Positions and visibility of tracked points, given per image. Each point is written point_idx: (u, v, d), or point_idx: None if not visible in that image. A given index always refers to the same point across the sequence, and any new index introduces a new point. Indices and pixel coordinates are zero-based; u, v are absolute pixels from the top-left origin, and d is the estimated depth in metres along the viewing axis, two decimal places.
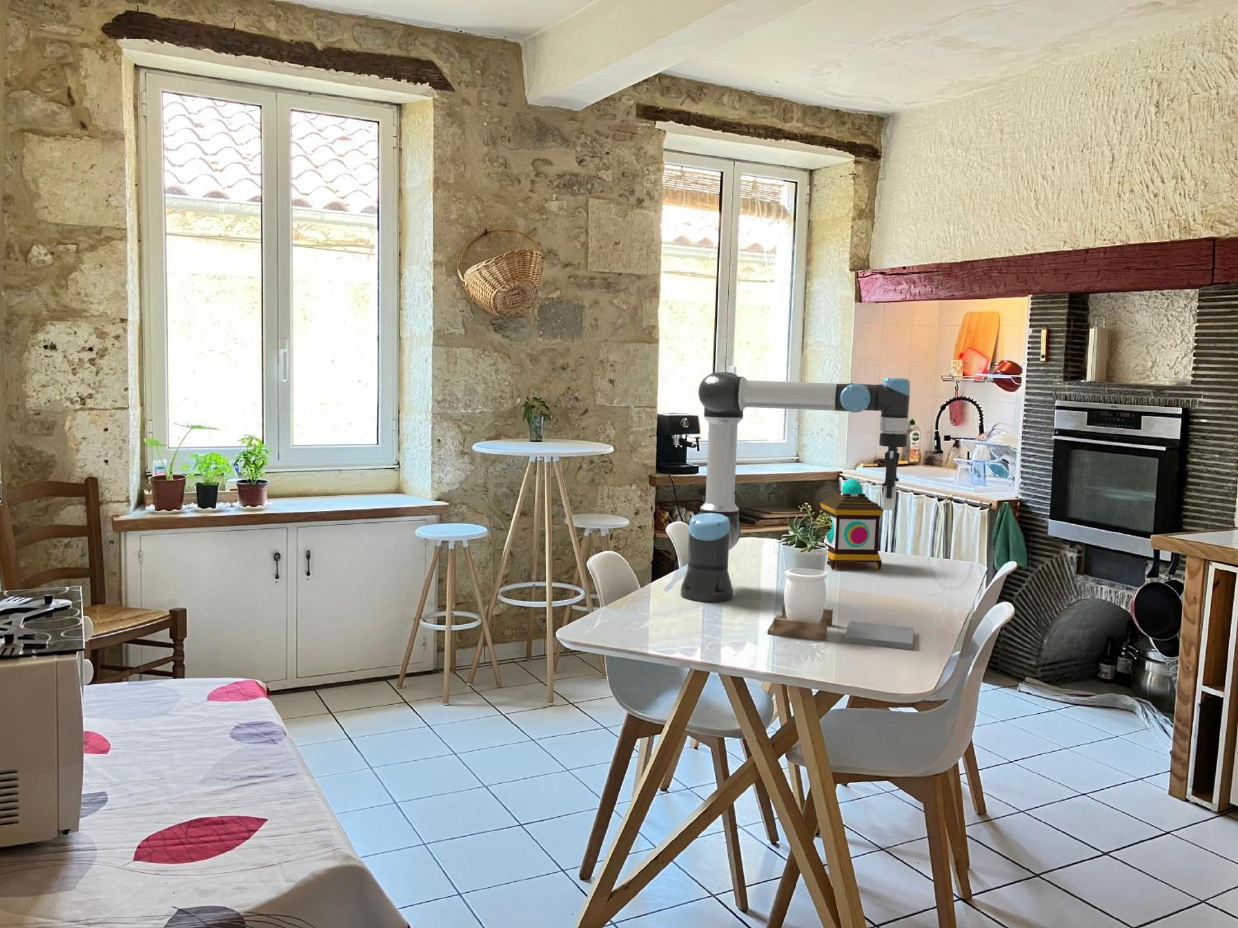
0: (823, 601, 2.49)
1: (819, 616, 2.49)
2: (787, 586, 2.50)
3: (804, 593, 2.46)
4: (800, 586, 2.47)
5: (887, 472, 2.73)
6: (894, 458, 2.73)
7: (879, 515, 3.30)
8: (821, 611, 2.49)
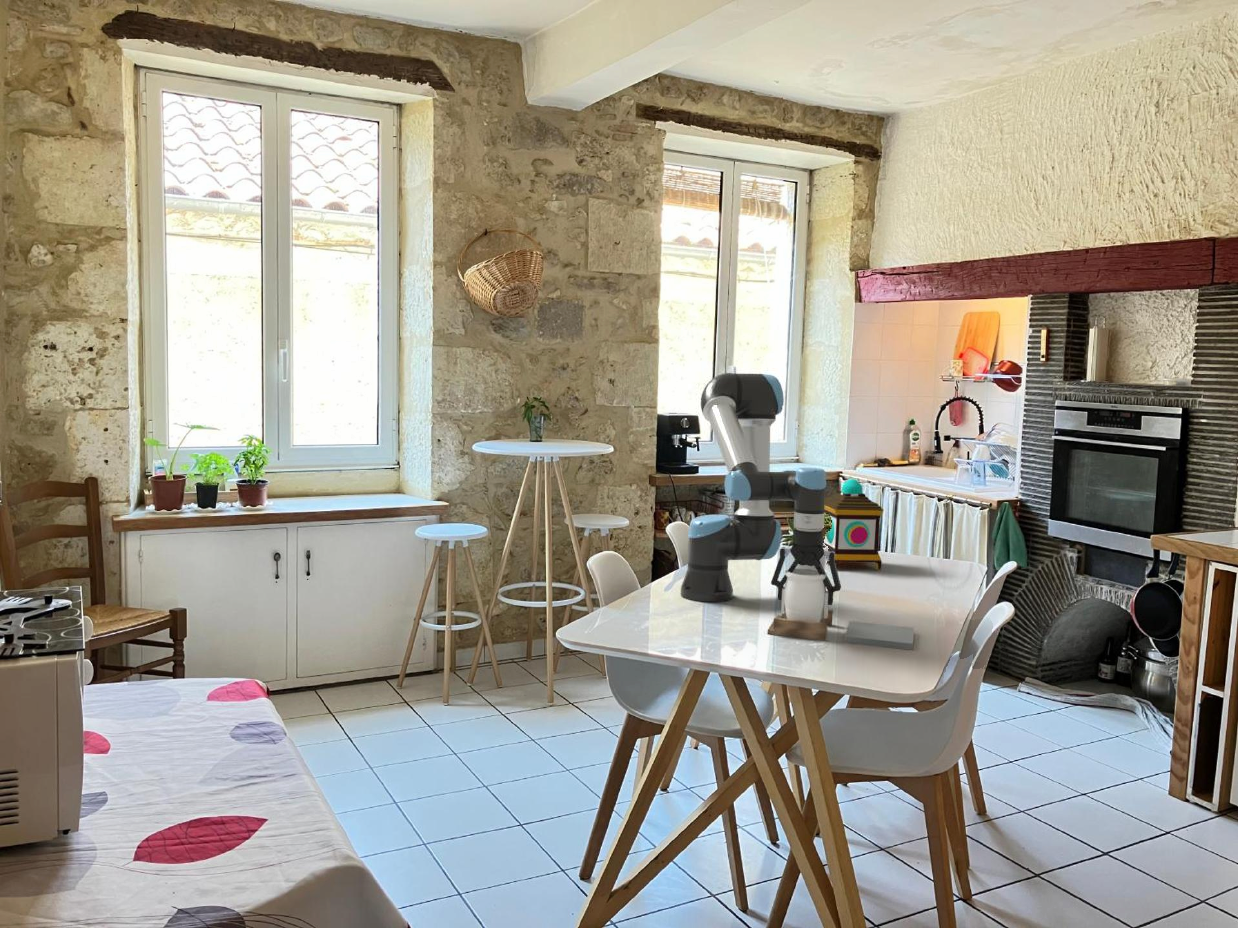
0: (823, 601, 2.49)
1: (819, 616, 2.49)
2: (787, 586, 2.50)
3: (804, 593, 2.46)
4: (800, 586, 2.47)
5: None
6: None
7: (879, 515, 3.30)
8: (821, 611, 2.49)
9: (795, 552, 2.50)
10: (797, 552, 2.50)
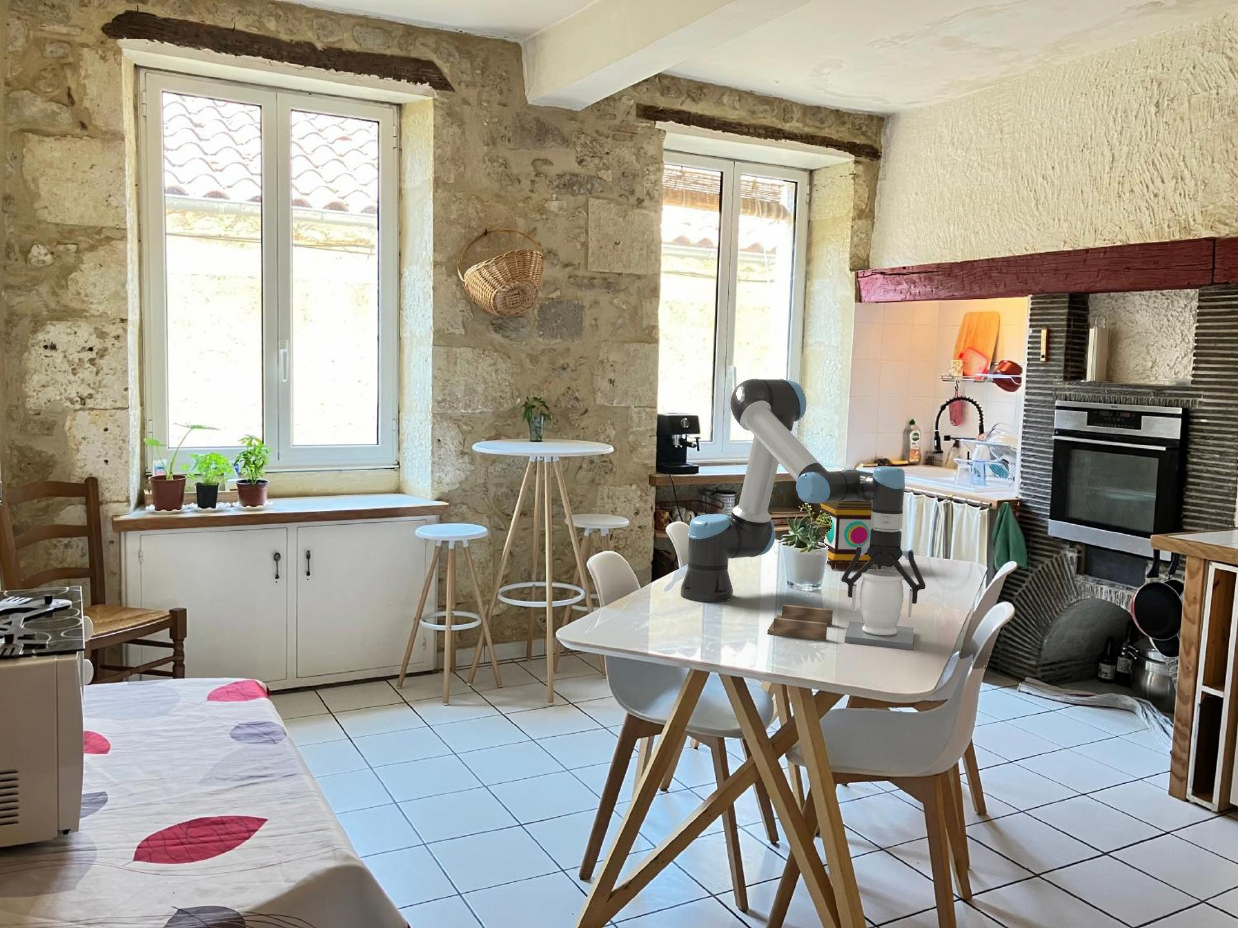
0: (901, 603, 2.43)
1: (897, 618, 2.43)
2: (864, 587, 2.44)
3: (883, 594, 2.41)
4: (878, 587, 2.41)
5: None
6: (855, 554, 2.46)
7: None
8: (899, 613, 2.43)
9: (872, 553, 2.45)
10: (874, 553, 2.44)
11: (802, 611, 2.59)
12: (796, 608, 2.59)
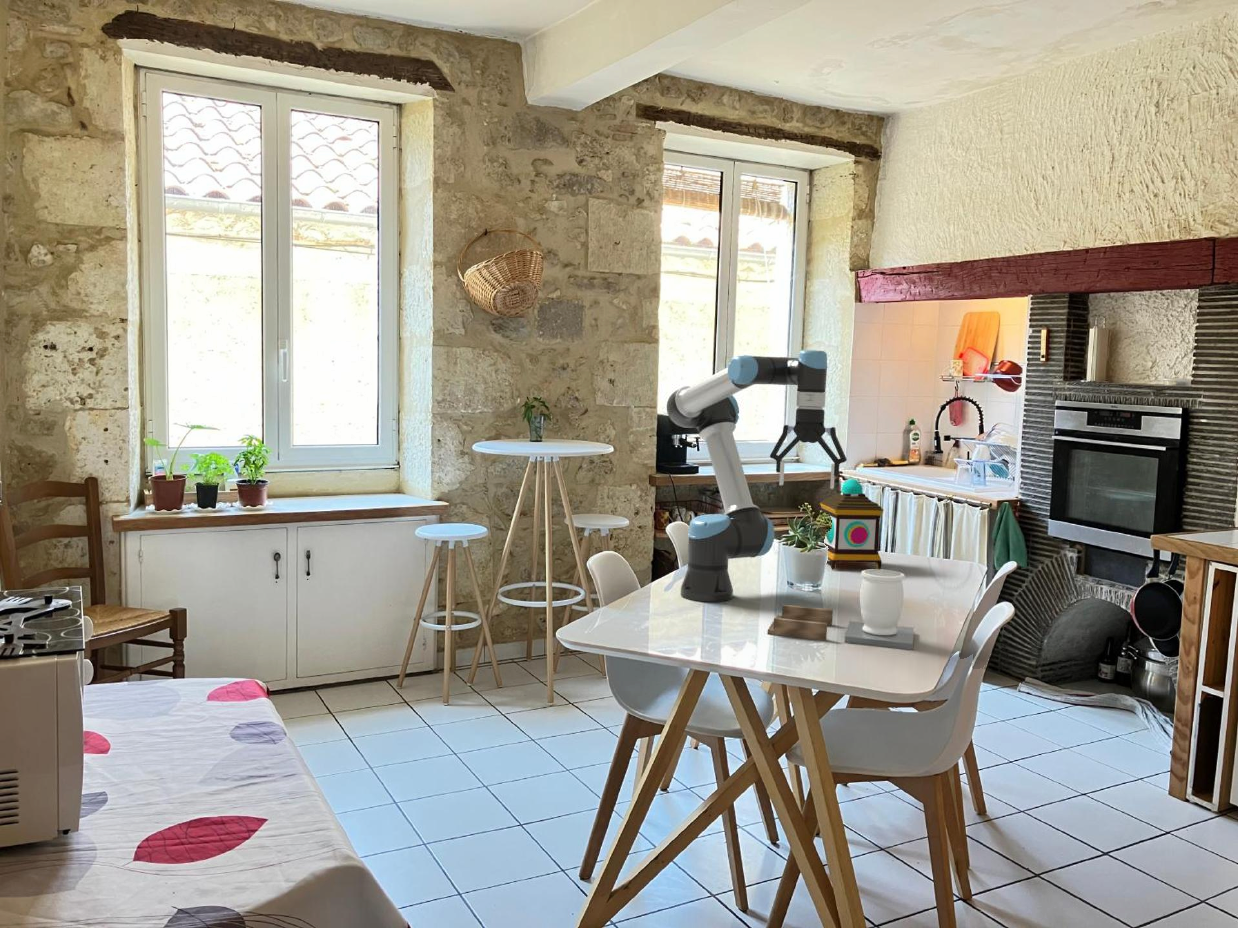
0: (901, 603, 2.43)
1: (897, 618, 2.43)
2: (864, 587, 2.44)
3: (883, 594, 2.41)
4: (878, 587, 2.41)
5: None
6: None
7: (879, 515, 3.30)
8: (899, 613, 2.43)
9: (797, 430, 2.65)
10: (799, 430, 2.65)
11: (802, 611, 2.59)
12: (796, 608, 2.59)
